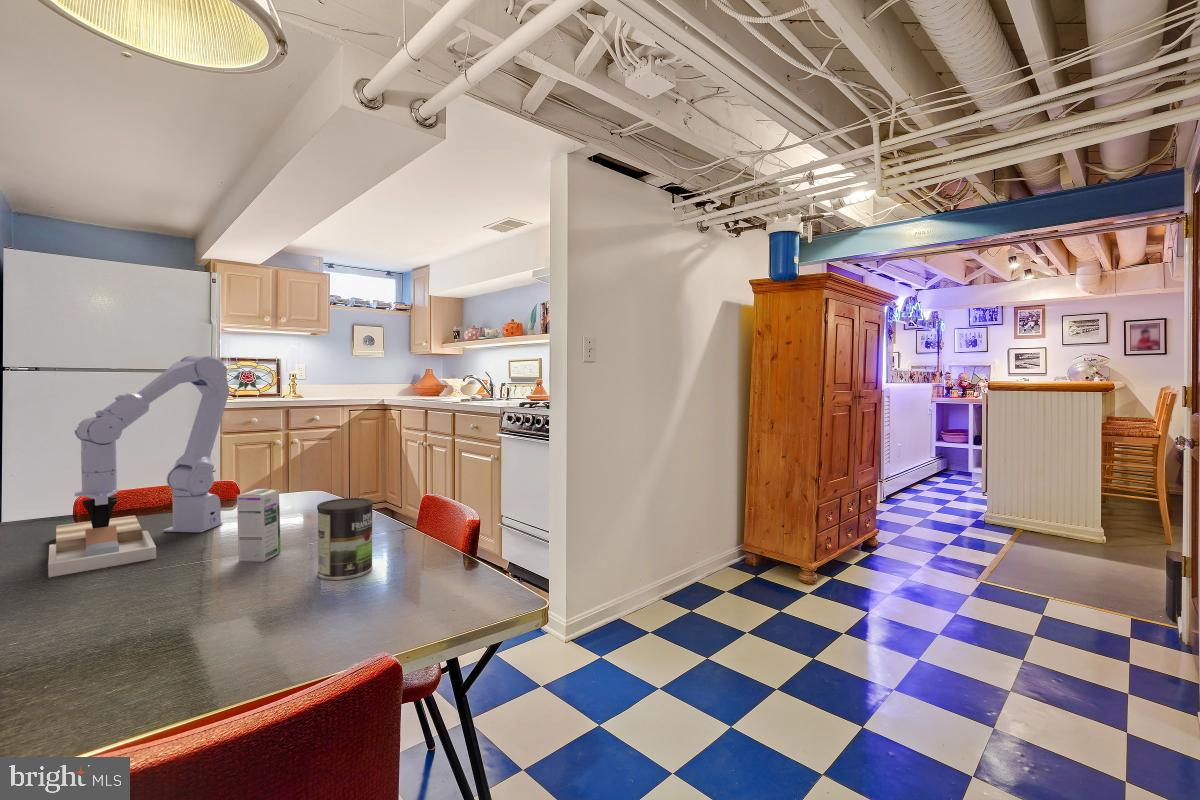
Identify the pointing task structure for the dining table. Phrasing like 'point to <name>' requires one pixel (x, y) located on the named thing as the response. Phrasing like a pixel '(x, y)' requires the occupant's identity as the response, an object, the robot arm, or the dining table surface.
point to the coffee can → (344, 538)
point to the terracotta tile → (101, 535)
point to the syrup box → (258, 525)
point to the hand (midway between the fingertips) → (100, 530)
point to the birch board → (74, 534)
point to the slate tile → (102, 548)
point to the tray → (100, 557)
